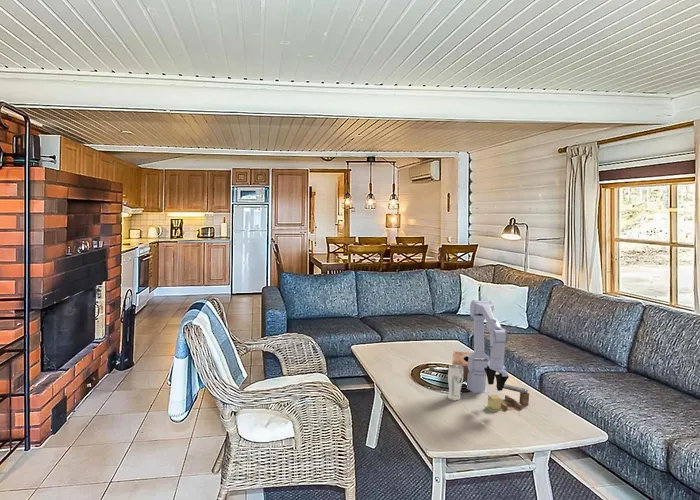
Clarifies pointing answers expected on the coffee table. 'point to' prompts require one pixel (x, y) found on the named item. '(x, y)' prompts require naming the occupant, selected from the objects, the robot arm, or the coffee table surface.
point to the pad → (491, 409)
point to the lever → (514, 388)
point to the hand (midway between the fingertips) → (495, 387)
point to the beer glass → (455, 382)
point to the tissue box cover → (462, 362)
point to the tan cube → (494, 402)
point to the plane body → (514, 402)
